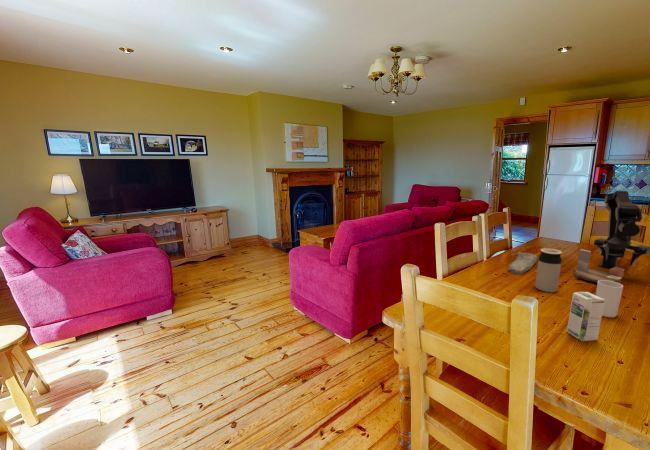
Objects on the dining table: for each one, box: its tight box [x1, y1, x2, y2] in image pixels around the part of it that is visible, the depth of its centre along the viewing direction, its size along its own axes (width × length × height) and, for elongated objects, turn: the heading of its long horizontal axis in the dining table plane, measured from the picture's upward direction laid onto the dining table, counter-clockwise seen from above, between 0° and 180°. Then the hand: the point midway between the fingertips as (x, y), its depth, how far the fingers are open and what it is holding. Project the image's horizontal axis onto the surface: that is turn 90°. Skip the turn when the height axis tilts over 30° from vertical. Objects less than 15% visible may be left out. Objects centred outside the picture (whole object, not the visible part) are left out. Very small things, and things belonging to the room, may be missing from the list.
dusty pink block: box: [608, 267, 625, 278], centre depth 141 cm, size 4×6×4 cm, turn 115°
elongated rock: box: [508, 251, 538, 276], centre depth 160 cm, size 35×5×10 cm
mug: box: [595, 280, 624, 318], centre depth 109 cm, size 10×7×12 cm, turn 131°
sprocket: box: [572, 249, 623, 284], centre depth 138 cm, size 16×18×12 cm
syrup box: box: [566, 291, 605, 342], centre depth 94 cm, size 6×6×14 cm
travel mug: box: [534, 247, 563, 293], centre depth 129 cm, size 8×8×18 cm
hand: (617, 262), depth 140 cm, fingers open, 9 cm apart
